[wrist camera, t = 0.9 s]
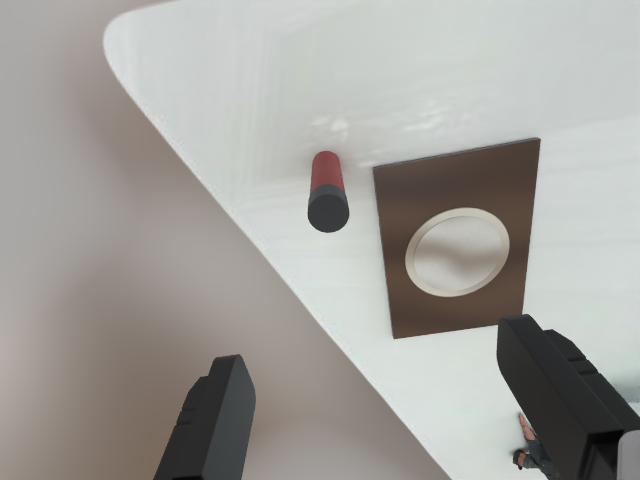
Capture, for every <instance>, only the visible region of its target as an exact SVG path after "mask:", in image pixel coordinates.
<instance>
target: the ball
mask: <svg viewBox="0 0 640 480" xmlns="http://www.w3.org/2000/svg"><path fill="white" fill-rule="evenodd" d="M627 403H628V404H629V405H630V407H631V408H632V409H633V410H634V411H635V412H636V413H637V414H638V415H639V417H640V403H631V402H627ZM520 424H521V426H522V428H523V430H524V433H525V436H524V437H525V439H526V442H527V443H528V445H529V453H530V454H526V453H524V452H521V451H517V452H516V453H515V454H514V457H513V463H514V464H516V465H518V468H519V470H521V469H522V467H524V468H527V469H528V468H539V469H540V471H541V472H542V473H544V474H545V475H546V477H547V479H548V480H563V479H562V478H561V476H560V474H559V473H558V471H557V469H556V467H555V466H554V464H553V462H552V460H551V459H550V457H549V455H548V454H547V452H546V450H545V448H544V447H543V445H541V444H540V443H539V439H538V437H537V436H536V435H535V434H534V433H532V432H531V430H530V429H529V428H528V427H527V426H526V422H525V420H524V418H523V416H522V414H520ZM535 465H536V466H537V467H536V466H535Z"/></svg>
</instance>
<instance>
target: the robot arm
mask: <svg viewBox="0 0 640 480" xmlns="http://www.w3.org/2000/svg"><path fill="white" fill-rule="evenodd" d="M497 362H498V366H499V369H500V371H501V374H502V376H503V378H504V379H505V381H506V383H507V384H508V386H509V388H510V390H511V391H512V393H513V395H514V397H515V398H516V400H517V402H518V403H519V405H520V407H521V409H522V410H523V412H524V414H525V416H526V417H527V419H528V421H529V422H530V424H531V426H532V428H533V429H534V431H535V433H536V435H537V436H538V438H539V440H540V441H541V443H542V445H543V447H544V448H545V450H546V452H547V454H548V455H549V457H550V459H551V460H552V462H553V464H554V466H555V467H556V469H557V471H558V473H559V474H560V476H561V478H562V479H563V480H640V417H639V415H638V414H637V413H636V412H635V411H634V410H633V409H632V408H631V407H630V405H629V404H628V403H627V402H626V401H625V400H624V399H623V398H622V397H621V395H620V394H619V393H618V392H617V391H616V390H615V389H614V388H613V387H612V385H611V384H610V383H609V382H608V381H607V380H606V379H605V378H604V377H603V375H602V374H601V373H598V371H597V369H596V368H595V367H594V365H593V364H592V363H591V362H590V361H589V360H587V359H586V357H585V355H584V354H583V353H582V352H581V351H580V350H579V349H578V348H577V347H576V345H575V344H574V343H573V342H572V341H570V340H569V339H567V338H566V337H564V336H562V335H561V334H559V333H558V332H556V331H554V330H553V329H551V330H544V331H543V330H542V329H541V327H540V326H539V325H538V324H537V323H536V321H535V320H534V319H533V318H532V317H531V316H530V315H528V314H523V315H516V316H509V317H502V318H500V319H499V322H498V337H497ZM255 398H256V396H255V389H254V385H253V383H252V380H251V378H250V375H249V373H248V370H247V368H246V365H245V363H244V361H243V358H242V356H240V355H239V354H238V355H231V356H224V357H217V358H215V359H214V361H213V364H212V366H211V369H210V372H209V375H208V376H205V377H200V378H199V379H198V381H197V382H196V383H195V385H194V386H193V387H192V388H191V389H190V391H189V392H188V395H187V397H186V400H185V402H184V404H183V407H182V412H180V414H179V417H178V419H177V425H176V426H175V427H174V429H173V432H172V434H171V437H170V439H169V442H168V444H167V447H166V449H165V452H164V454H163V457H162V459H161V462H160V464H159V467H158V469H157V472H156V474H155V476H154V479H153V480H241V478H242V473H243V468H244V462H245V457H246V452H247V447H248V441H249V436H250V431H251V426H252V421H253V415H254V410H255V403H256V399H255Z"/></svg>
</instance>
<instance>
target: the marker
mask: <svg viewBox="0 0 640 480" xmlns="http://www.w3.org/2000/svg"><path fill="white" fill-rule="evenodd" d="M348 218H349V207H348V202H347V197H346V195H345V190H344V184H343V179H342V173H341V168H340V162H339V159H338V157H337V156H336V155H335V154H334V153H332V152H329V151H324V152H320V153H319V154H317V155H316V156H315V158H314V160H313V164H312V176H311V188H310V197H309V203H308V219H309V221H310V223H311V225H312V226H313V227H314V228H315V229H317V230H319V231H321V232H326V233H330V232H335V231H338V230H340V229H341V228H342V227H344V225H345V224H346V223H347V221H348Z"/></svg>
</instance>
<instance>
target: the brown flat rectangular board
mask: <svg viewBox="0 0 640 480" xmlns="http://www.w3.org/2000/svg"><path fill="white" fill-rule="evenodd" d="M540 141H541V139H539V138H532V139H527V140H521V141H516V142H510V143H505V144H499V145H494V146H488V147H483V148H477V149H472V150H466V151H461V152H456V153H450V154H445V155H439V156H434V157H428V158H423V159H417V160H412V161H406V162H401V163H395V164H390V165H384V166H379V167H373V174H374V183H375V191H376V199H377V208H378V216H379V224H380V233H381V241H382V249H383V258H384V266H385V274H386V283H387V291H388V300H389V308H390V316H391V325H392V333H393V338H394V339H399V338H406V337H413V336H420V335H428V334H435V333H442V332H450V331H457V330H464V329H471V328H479V327H486V326H493V325H498V322H499V319H500V318H502V317H509V316H516V315H522V310H523V300H524V291H525V282H526V272H527V263H528V253H529V244H530V235H531V225H532V216H533V207H534V197H535V188H536V178H537V169H538V160H539V150H540Z"/></svg>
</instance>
